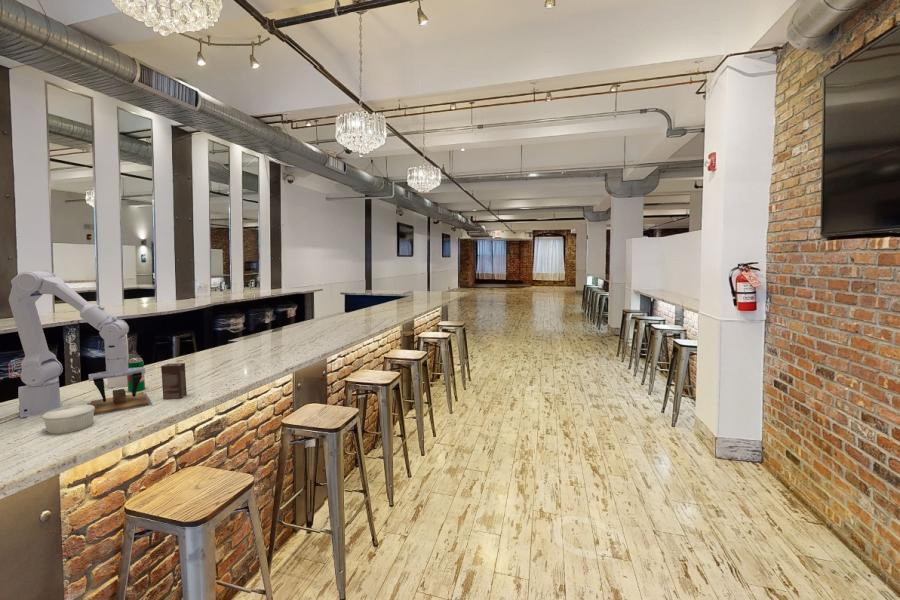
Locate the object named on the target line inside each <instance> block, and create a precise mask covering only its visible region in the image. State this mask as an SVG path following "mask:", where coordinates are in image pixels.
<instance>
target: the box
mask: <svg viewBox="0 0 900 600" xmlns="http://www.w3.org/2000/svg"><path fill="white" fill-rule="evenodd" d="M160 368H161V369H160V370H161V382H162V384H161V385H162V386H161V388H162V399H163V400H177V399H178V400H181V399H183V398H184V397H186V396H187V394H188V392H187V378H186V363H185V362H175V363H174V362H173V363H165V364H163V365H161V366H160Z"/></svg>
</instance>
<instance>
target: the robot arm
mask: <svg viewBox="0 0 900 600" xmlns="http://www.w3.org/2000/svg"><path fill="white" fill-rule="evenodd" d="M10 284H11V289H10V294H9V296H8V303H9V306H10V309H11V312H12V316H13V319H14V323H15V326H16V328H17V333H18V337H19V339H20V343H21V346H22V350H23V352H24V353H23V354H24V357H23V359H22V361H21V363H20V366H21V371H20V379H21V381H22V383H23V384H25V385H23V386H22V385H21V386H18V389H17V390H18V394H17V395H18V403H19V404H18V411H19V415H20V417H19V418H21V419H23V418H27V417H29V416H34V415H35V416H36V415H40V414H45V413H47V412H49V411H52V410H55V409H58V408H63V406H64V405H63V403H61V391H60V378H59V376H61V374H62V373H63V369H64V368H63V364H62V363H61V362H60V361H59V360H58V359H57V356H56V354H55V353H53V352H51V351H50V349H49V347H48V343H47V340H46V339H47V338H46V336H45V333H44V329H43V325H42V322H41V319H40V315H39V313H38V308H37V305H36V302H37V301H38V300H39V299H40V298H41V297H42V296H43V295H51V296H52V295H53V296H56V297H57V298H59V299H60V300H62V301H63V302H65V303H67V304H68V305H70V306H71V307H72V308H74V309H75V310H76V311H78V312H79V317H80V318H81V319H83V320H84V321H85V322H86V323H87V324H89V325H90V326H92V327H93V328H94V329H96V330H97V331H99V332H98V334H99V337H101V339H103V342H104V355H105V371H99V372H95V373H90V374H89V373H88V382H93V384H94V386H95V387H96V389H97V390H98V392H100V396H101V399H103V402H106V398H107V397H106V392H105V391H106V389H105V379H107V378H114V377H121V376H128V375H131V378H132V392H131V394H132V396H133V397H135V396H136V393H137V392H136V390H137V387H138V384H139V382H140V380H141V378H142V375H141V374H144V375H145V374H146V367H145V366H144V367H138V368H128V356H129V353H128V354H127V341H126V336H125V335H126V334H127V335H128V333H129V331H130V326H129V325H128V323H127V322H126V321H125V320H123V319H118V317H117V316H115V315H114V316H113V315H112V314H111V313H109V312H108V311H107V310H106V309H105V308H106V307H104V306H103V305H99V304H97V303H89V302H88V301H87V300H86V299H85V298H83V296H81V295H80V294H79V293H78V292H76V291H75V290H74V289H73V288H72V287H70V286H69V285H68V284H67V283H66V282H65V281H64V280H63V278H62V277H60V276H57V275H56V274H55V273H53V272H52V271H50V270H39V271H27V270H25V271H21V272H20V273H18V274H17V275H16V276H14V277H13V278H12V279H11V280H10ZM107 380H108V379H107Z"/></svg>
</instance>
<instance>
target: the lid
mask: <svg viewBox="0 0 900 600" xmlns="http://www.w3.org/2000/svg"><path fill="white" fill-rule="evenodd" d="M144 394H145V393H144V392H143V391H142V392H136V396H135V397H133V396H132V393H130V394H126V390H125V388H121V389H120V388H119V389H113V390H112V397H106V402H103V398H101V399H94V400H90V403H91V405H92V406H94V407H95V411H94V415H96V414H102V413H107V412H113V411H118V410H124V409H129V408H135V407H140V406H145V405H149V402H148V400H147V399H146V397H145V395H144ZM140 408H141V407H140ZM135 409H136V408H135ZM129 410H130V409H129ZM124 411H125V410H124ZM113 413H114V412H113ZM102 415H103V414H102Z"/></svg>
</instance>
